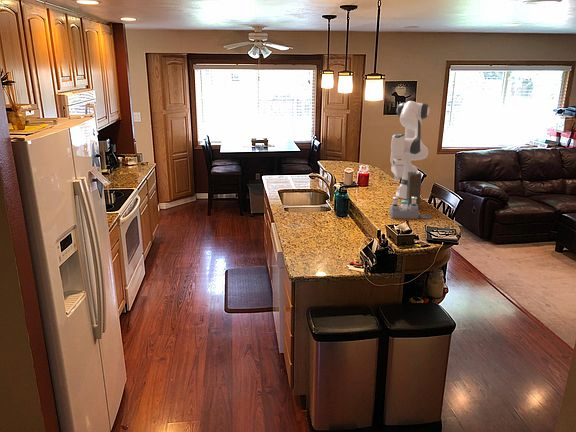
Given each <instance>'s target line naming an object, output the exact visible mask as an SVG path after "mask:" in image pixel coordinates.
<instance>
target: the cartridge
mask: <svg viewBox="0 0 576 432" xmlns="http://www.w3.org/2000/svg"><path fill="white" fill-rule="evenodd" d="M400 207H401V210H407V209H408V201H407V200H406V199H403V200H401V201H400Z"/></svg>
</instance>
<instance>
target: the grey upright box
mask: <svg viewBox="0 0 576 432" xmlns="http://www.w3.org/2000/svg"><path fill="white" fill-rule="evenodd" d="M408 174H409V175H408V182H407V198H406V199H405V200H407V201H408V207H409V204H412V199H411V197H413V196H415V197H417V199H416V204H417V205H418V210H420V208H421V207H420V205H421V197H420V195H421V194H422V193H421V191H422V190H421V189H422V175H423V174H422V172H421V171H418V173H416V172H415V171H414V173H413V172H410V171H409V172H408Z"/></svg>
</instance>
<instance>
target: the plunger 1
mask: <svg viewBox="0 0 576 432" xmlns="http://www.w3.org/2000/svg"><path fill="white" fill-rule="evenodd" d="M398 200H399V198H398V197H396V196H392V204H393V206H397V204H398Z"/></svg>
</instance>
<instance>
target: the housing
mask: <svg viewBox="0 0 576 432" xmlns="http://www.w3.org/2000/svg"><path fill="white" fill-rule="evenodd" d="M388 215H389V216H390V218H391V219H395V220H397V219H420V218H419V215H420V209H418V205H417V204H416V206H411V204H409V207H408V209H407V210H401V206H400V205H399V204H398V203H397V206H393V203H391V204H390V206H389V213H388Z"/></svg>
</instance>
